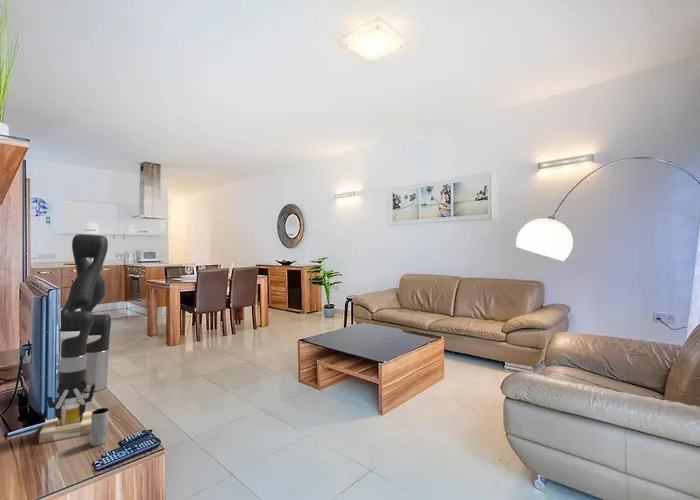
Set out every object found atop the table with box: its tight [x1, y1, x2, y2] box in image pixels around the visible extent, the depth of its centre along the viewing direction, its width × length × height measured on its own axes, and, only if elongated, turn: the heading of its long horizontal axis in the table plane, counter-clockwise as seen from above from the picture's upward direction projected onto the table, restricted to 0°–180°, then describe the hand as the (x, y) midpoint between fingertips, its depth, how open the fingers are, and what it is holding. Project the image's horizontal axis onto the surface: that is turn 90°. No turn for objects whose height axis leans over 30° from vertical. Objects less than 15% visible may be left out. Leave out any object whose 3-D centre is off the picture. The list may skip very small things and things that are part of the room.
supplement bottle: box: [60, 397, 81, 426], centre depth 122 cm, size 5×5×10 cm
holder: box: [38, 408, 97, 444], centre depth 122 cm, size 14×14×3 cm
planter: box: [89, 407, 110, 447], centre depth 114 cm, size 4×4×10 cm
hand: (70, 416), depth 122 cm, fingers closed on supplement bottle, 5 cm apart
